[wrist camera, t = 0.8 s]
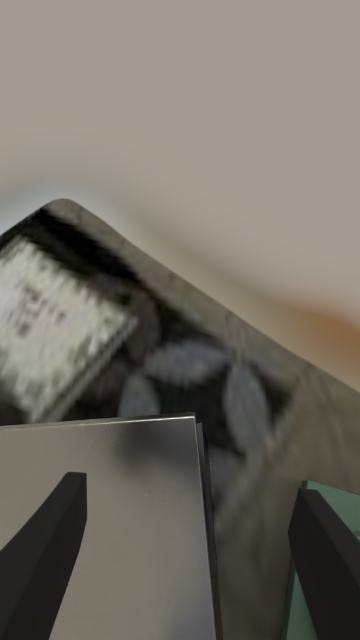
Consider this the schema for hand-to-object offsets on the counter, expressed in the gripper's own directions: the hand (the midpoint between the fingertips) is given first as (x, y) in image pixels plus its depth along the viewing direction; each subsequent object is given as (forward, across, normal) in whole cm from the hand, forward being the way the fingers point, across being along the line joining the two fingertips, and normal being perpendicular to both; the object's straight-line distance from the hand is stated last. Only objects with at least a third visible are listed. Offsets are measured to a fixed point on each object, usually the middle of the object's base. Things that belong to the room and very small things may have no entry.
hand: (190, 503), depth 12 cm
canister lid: (+2, +5, +6) cm, 8 cm away
